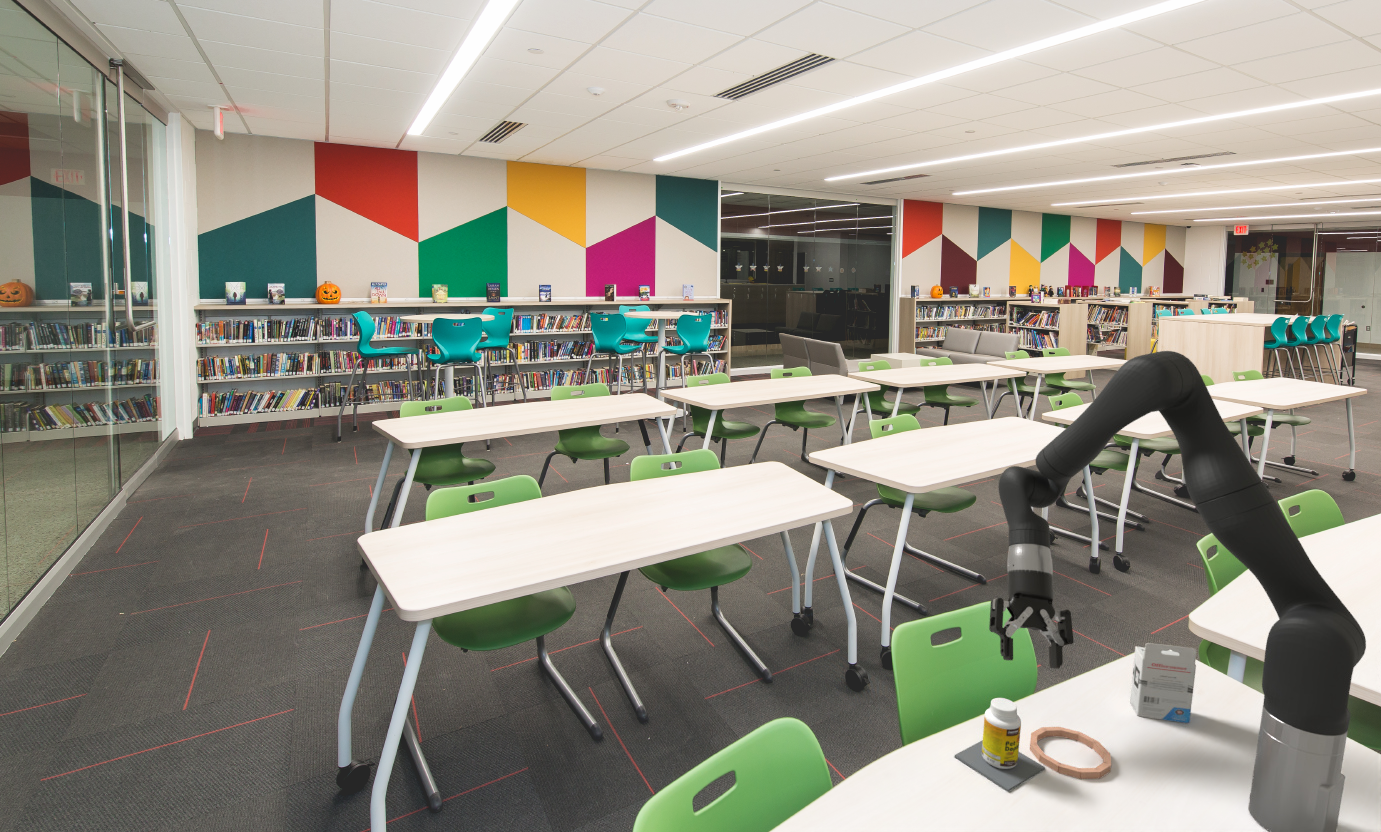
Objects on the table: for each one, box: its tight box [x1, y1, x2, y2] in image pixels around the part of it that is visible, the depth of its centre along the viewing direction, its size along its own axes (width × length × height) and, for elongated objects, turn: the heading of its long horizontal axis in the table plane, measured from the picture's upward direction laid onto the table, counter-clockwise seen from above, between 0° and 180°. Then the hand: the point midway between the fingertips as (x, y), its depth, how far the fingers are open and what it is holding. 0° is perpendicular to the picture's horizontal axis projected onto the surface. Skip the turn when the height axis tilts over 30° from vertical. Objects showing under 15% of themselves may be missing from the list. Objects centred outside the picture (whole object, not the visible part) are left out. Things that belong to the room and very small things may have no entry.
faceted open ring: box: [1029, 726, 1112, 780], centre depth 118 cm, size 12×12×1 cm
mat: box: [954, 739, 1046, 793], centre depth 117 cm, size 10×10×1 cm
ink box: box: [1129, 642, 1198, 724], centre depth 129 cm, size 9×5×15 cm, turn 73°
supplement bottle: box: [982, 697, 1022, 769], centre depth 116 cm, size 6×6×10 cm
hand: (1031, 664), depth 123 cm, fingers open, 8 cm apart
